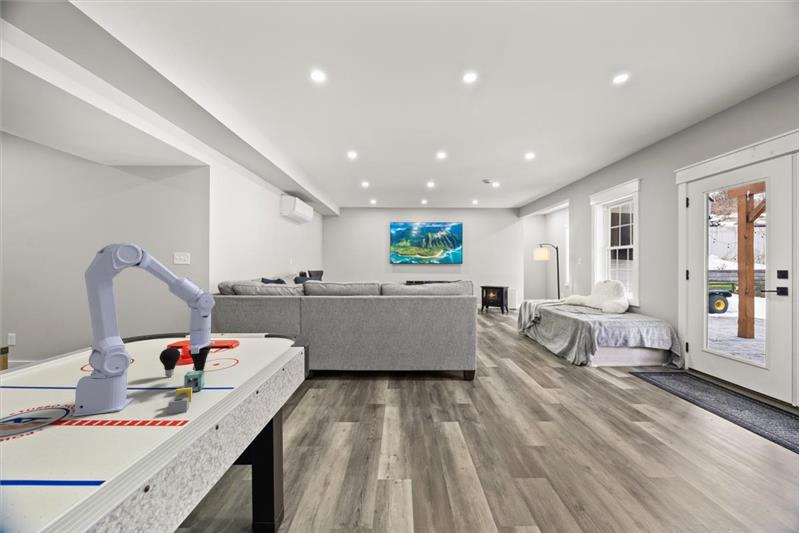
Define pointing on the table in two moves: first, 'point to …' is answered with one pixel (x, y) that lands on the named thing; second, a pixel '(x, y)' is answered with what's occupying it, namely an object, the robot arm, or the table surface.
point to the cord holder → (182, 398)
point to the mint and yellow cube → (195, 375)
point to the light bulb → (169, 360)
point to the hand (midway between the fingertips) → (199, 370)
